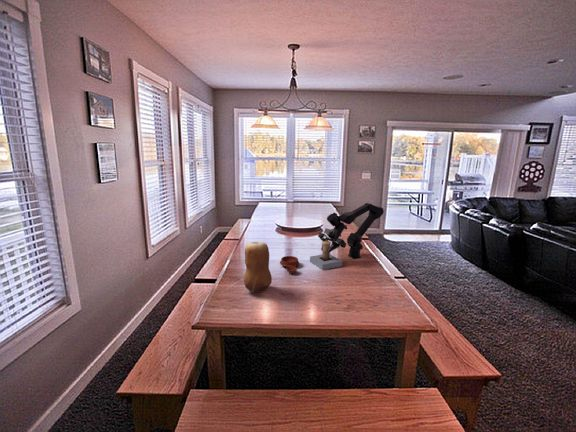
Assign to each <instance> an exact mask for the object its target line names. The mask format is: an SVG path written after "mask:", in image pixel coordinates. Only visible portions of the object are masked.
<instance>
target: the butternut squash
mask: <svg viewBox="0 0 576 432" xmlns="http://www.w3.org/2000/svg"><path fill="white" fill-rule="evenodd" d="M244 264H245V266H246V267H245V268H246V269H245V271H244V275H243V283H244V287H245V288H246V289H247V290H248V291H250V292H252V293H262V292H264V291H265V290H267V289H268V288H269V287H270V286H271V284H272V282H273V279H272V273H271V271H270V251H269V246H268V244H267V243H266V242H264V241H249V242H247V243H246V244H245V247H244Z"/></svg>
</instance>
